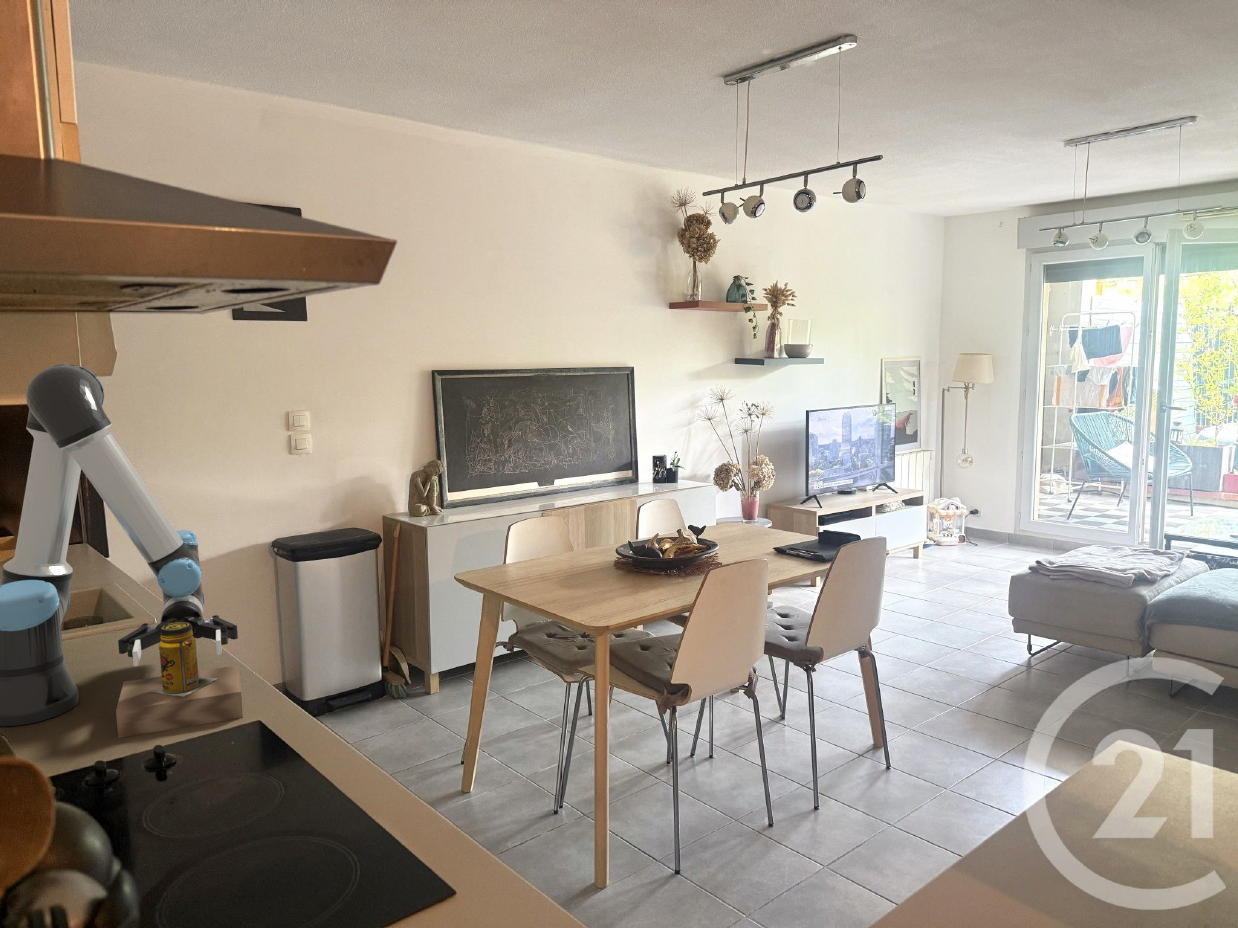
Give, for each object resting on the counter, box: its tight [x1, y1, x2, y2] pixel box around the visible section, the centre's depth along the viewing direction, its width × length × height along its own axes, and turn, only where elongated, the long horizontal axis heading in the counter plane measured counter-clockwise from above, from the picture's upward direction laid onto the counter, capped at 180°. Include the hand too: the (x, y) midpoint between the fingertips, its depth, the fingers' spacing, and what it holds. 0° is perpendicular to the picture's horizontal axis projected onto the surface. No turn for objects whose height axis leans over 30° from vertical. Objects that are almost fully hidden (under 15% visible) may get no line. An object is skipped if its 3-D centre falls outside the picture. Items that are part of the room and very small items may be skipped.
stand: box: [115, 664, 244, 739], centre depth 162 cm, size 20×14×5 cm
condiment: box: [152, 622, 217, 697], centre depth 161 cm, size 7×8×12 cm
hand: (177, 653), depth 157 cm, fingers open, 13 cm apart
